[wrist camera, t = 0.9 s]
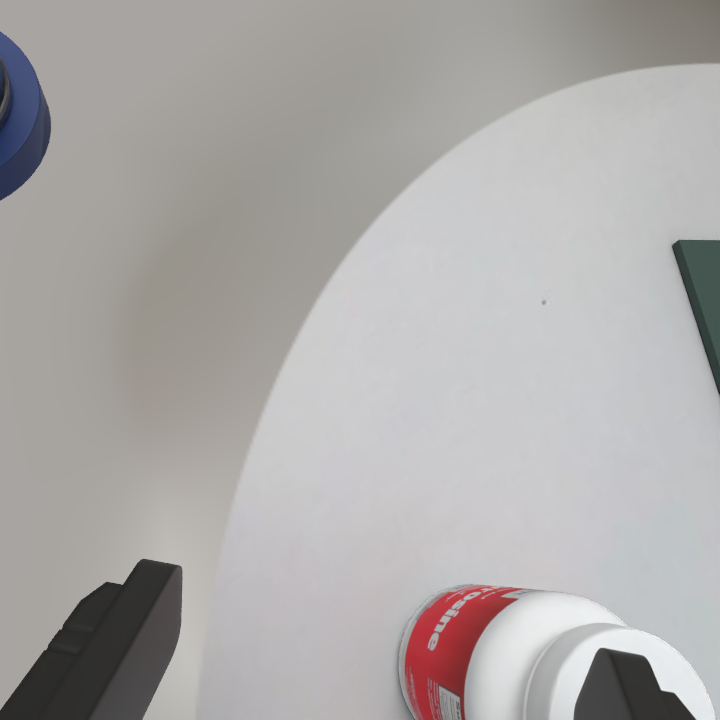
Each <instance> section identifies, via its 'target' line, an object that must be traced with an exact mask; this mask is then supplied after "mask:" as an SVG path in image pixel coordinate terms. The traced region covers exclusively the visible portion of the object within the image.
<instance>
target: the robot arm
mask: <svg viewBox="0 0 720 720" xmlns="http://www.w3.org/2000/svg"><path fill="white" fill-rule="evenodd" d="M12 101H13V90H12V84H11V80H10V77H9V75H8V72H7V70H6V68H5V65H4V63H3V61H2V59H1V57H0V131H1V129H2V128H3V126H4V125H5V123H6V121H7V119H8V117H9V114H10V111H11V108H12ZM181 608H182V567H181V566H179V565H173V564H169V563H163V562H158V561H153V560H147V559H142V560H140V561H139V562H138V563H137V565H136V566H135V568H134V569H133V571H132V572H131V574H130V575H129V577H128V578H127V580H126V581H125V583H124V584H123V585H121V584H115V583H110V582H106V583H104V584H103V585H102V586H100V587H99V588H97V589H96V590H95V591H93V592H92V593H90V594H89V595H88V596H86V597H85V598H84V599H82V600H81V601H80V602H79V604H78V605H77V606H76V608H75V609H74V611H73V612H72V613H71V615H70V616H69V617H68V619H67V620H66V621H65V623H64V624H63V628H62V630H59V631H58V633H57V634H56V635H55V636H54V638H53V639H52V641H51V642H50V643H49V645H48V648H47V650H45V651H44V652H43V653H42V654H41V656H40V657H39V658H38V660H37V661H36V662H35V664H34V665H33V667H32V668H31V669H30V671H29V672H28V673H27V675H26V676H25V677H24V679H23V680H22V681H21V683H20V684H19V686H18V687H17V688H16V690H15V691H14V693H13V694H12V695H11V697H10V698H9V699H8V701H7V702H6V703H5V705H4V706H3V707H2V709H1V710H0V720H142V719H143V717H144V715H145V712H146V710H147V708H148V706H149V704H150V702H151V700H152V698H153V696H154V694H155V692H156V690H157V688H158V685H159V683H160V681H161V679H162V677H163V675H164V673H165V671H166V669H167V667H168V665H169V663H170V661H171V658H172V656H173V653H174V651H175V648H176V645H177V642H178V638H179V633H180V627H181ZM573 720H696V719H695V717H694V716H693V715H692V714H691V712H690V711H689V710H688V709H687V708H686V706H685V705H684V704H683V703H682V701H681V700H680V699H679V698H678V697H677V695H676V694H675V693H672V692H667V691H662V690H661V689H660V686H659V684H658V681H657V679H656V677H655V674H654V672H653V670H652V667H651V665H650V663H649V661H648V660H647V658H646V657H645V656H643V655H639V654H634V653H628V652H623V651H618V650H613V649H607V648H600V649H598V651H597V652H596V654H595V656H594V659H593V661H592V664H591V666H590V669H589V671H588V674H587V676H586V678H585V681H584V683H583V686H582V688H581V691H580V693H579V696H578V698H577V701H576V704H575V709H574V719H573Z"/></svg>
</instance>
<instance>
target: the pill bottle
mask: <svg viewBox="0 0 720 720" xmlns="http://www.w3.org/2000/svg"><path fill="white" fill-rule="evenodd" d="M600 648H607V649H613V650H618V651H623V652H628V653H634V654H639V655H643V656H645V657H646V658H647V660H648V661H649V663H650V665H651V667H652V670H653V672H654V674H655V677H656V679H657V681H658V684H659V686H660V689H661V690H662V691H667V692H672V693H675V694H676V695H677V697H678V698H679V699H680V700H681V701H682V703H683V704H684V705H685V706H686V708H687V709H688V710H689V711H690V712H691V714H692V715H693V716H694V717H695V719H696V720H716V715H715V712H714V709H713V706H712V703H711V700H710V697H709V695H708V693H707V691H706V689H705V687H704V685H703V683H702V681H701V680H700V678H699V676H698V675H697V673H696V672H695V670H694V669H693V668H692V666H691V665H690V664H689V663H688V662H687V661H686V659H685V658H684V657H683V656H682V655H681V654H680V653H679V652H678V651H676V650H675V649H674V648H673V647H672V646H670V645H669V644H668V643H666V642H665V641H663V640H662V639H660V638H658V637H656V636H654V635H652V634H649V633H647V632H644V631H641V630H637V629H632V628H629V627H628V626H627V625H626V624H625V623H624V622H623V621H622V620H621V619H620V618H619V617H617V616H616V615H615V614H614V613H612V612H611V611H609V610H608V609H607V608H605V607H603V606H601V605H600V604H598V603H596V602H594V601H592V600H589V599H587V598H584V597H581V596H578V595H573V594H568V593H563V592H555V591H544V590H532V589H522V588H512V587H498V586H485V585H473V584H469V585H458V586H454V587H450V588H447V589H444V590H442V591H440V592H438V593H436V594H434V595H433V596H431V597H430V598H429V599H428V600H426V601H425V602H424V603H423V604H422V605H421V606H420V607H419V608H418V609H417V611H416V612H415V613H414V615H413V616H412V618H411V619H410V621H409V623H408V625H407V627H406V629H405V632H404V634H403V638H402V641H401V645H400V652H399V678H400V684H401V689H402V693H403V696H404V699H405V701H406V704H407V706H408V708H409V710H410V712H411V714H412V715H413V717H414V719H415V720H573V719H574V709H575V704H576V701H577V698H578V696H579V693H580V691H581V688H582V686H583V683H584V681H585V678H586V676H587V674H588V671H589V669H590V666H591V664H592V661H593V659H594V656H595V654H596V652H597V651H598V649H600Z"/></svg>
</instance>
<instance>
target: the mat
mask: <svg viewBox="0 0 720 720" xmlns="http://www.w3.org/2000/svg"><path fill="white" fill-rule="evenodd" d="M672 246H673V249H674V252H675V255H676V258H677V261H678V264H679V267H680V271H681V274H682V277H683V280H684V283H685V286H686V289H687V292H688V296H689V299H690V302H691V305H692V308H693V311H694V314H695V318H696V321H697V324H698V327H699V330H700V333H701V336H702V339H703V343H704V346H705V349H706V352H707V355H708V358H709V361H710V364H711V368H712V371H713V374H714V377H715V380H716V383H717V386H718V390H719V393H720V240H678V241H677V242H676V243H674V244H673V245H672Z"/></svg>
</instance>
